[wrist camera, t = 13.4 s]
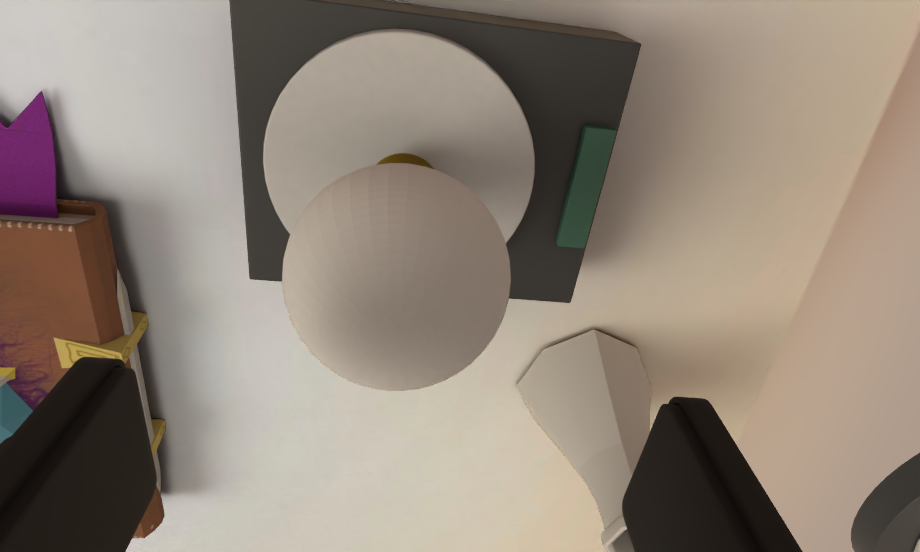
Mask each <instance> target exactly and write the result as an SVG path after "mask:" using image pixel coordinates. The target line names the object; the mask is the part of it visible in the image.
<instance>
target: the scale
mask: <svg viewBox="0 0 920 552" xmlns="http://www.w3.org/2000/svg"><path fill="white" fill-rule="evenodd" d="M229 1H230V14H231V28H232V42H233V56H234V69H235V83H236V97H237V111H238V125H239V138H240V152H241V166H242V180H243V193H244V207H245V221H246V235H247V249H248V262H249V276H250V279H255V280H268V281H282V273H283V259H284V255H285V251H286V247H287V243H288V240H289V237H290V234H291V232H292V230H293V228H294V226H295V224H296V222H297V220H298V218H299V217H300V215H301V214H302V213H303V211H304V210H305V208H306V207H307V206H308V204H309V203H310V202H311V201H312V200H313V199H314V198H315V197H316V196H317V195H318V194H319V193H320V192H321V191H322V190H323V189H324V188H326V187H327V186H329V185H330V184H331V183H333V182H334V181H336V180H337V179H339V178H341V177H343V176H345V175H347V174H349V173H351V172H354V171H356V170H358V169H362V168H365V167H369V166H373V165H376V164H377V163H378V162H379V161H381V160H382V159H384V158H385V157H388V156H390V155H393V154H399V153H408V154H413V155H416V156H419V157H421V158H423V159H424V160H426V161H427V162H428V163H429V164H430V165H431V166H432V167H433V168H434V169H435V170H437V171H440V172H442V173H444V174H446V175H448V176H450V177H452V178H454V179H456V180H457V181H459V182H460V183H462V184H463V185H464V186H466V187H467V188H468V189H470V190H471V191H472V192H473V193H474V194H475V195H476V196H477V197H478V198H479V199H480V200H481V201H482V202H483V203H484V204H485V205H486V207H487V208H488V210H489V211H490V213H491V214H492V215H493V217H494V218H495V220H496V222H497V224H498V226H499V228H500V230H501V233H502V235H503V237H504V240H505V243H506V247H507V251H508V255H509V260H510V274H511V283H510V292H509V298H511V299H524V300H538V301H551V302H564V303H570V302H571V299H572V296H573V292H574V288H575V285H576V281H577V277H578V274H579V270H580V266H581V263H582V259H583V255H584V252H585V248H586V244H587V241H588V237H589V234H590V230H591V226H592V223H593V219H594V215H595V212H596V208H597V204H598V201H599V197H600V193H601V190H602V186H603V182H604V179H605V175H606V171H607V168H608V164H609V160H610V157H611V153H612V150H613V146H614V142H615V139H616V135H617V131H618V128H619V124H620V120H621V117H622V113H623V109H624V106H625V102H626V98H627V95H628V91H629V87H630V84H631V80H632V76H633V73H634V69H635V66H636V62H637V58H638V55H639V51H640V47H641V44H640V43H638V42H636V41H634V40H632V39H629V38H627V37H625V36H623V35H621V34H619V33H616V32H612V31H605V30H597V29H590V28H582V27H575V26H568V25H560V24H553V23H546V22H538V21H531V20H524V19H516V18H509V17H501V16H494V15H487V14H479V13H472V12H465V11H457V10H450V9H443V8H435V7H428V6H421V5H413V4H406V3H398V2H391V1H384V0H229Z"/></svg>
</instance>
